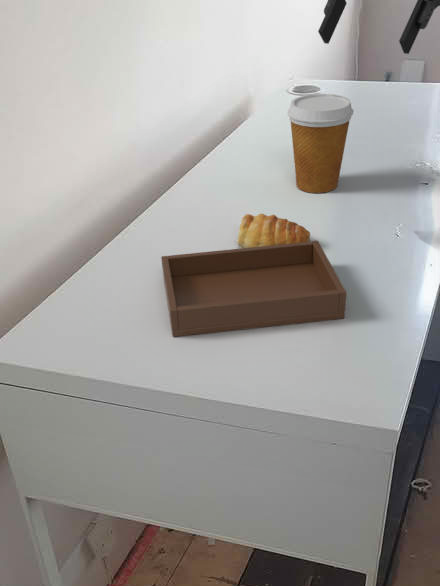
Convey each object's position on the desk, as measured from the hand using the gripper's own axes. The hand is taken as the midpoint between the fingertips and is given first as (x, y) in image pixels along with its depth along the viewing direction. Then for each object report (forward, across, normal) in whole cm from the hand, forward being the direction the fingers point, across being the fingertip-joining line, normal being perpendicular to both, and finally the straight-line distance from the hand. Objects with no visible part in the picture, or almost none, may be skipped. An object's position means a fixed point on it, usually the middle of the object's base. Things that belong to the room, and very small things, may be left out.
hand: (362, 42), depth 106 cm
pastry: (+35, -6, +10) cm, 37 cm away
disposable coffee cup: (+20, 0, -5) cm, 21 cm away
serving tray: (+44, -13, +20) cm, 50 cm away
